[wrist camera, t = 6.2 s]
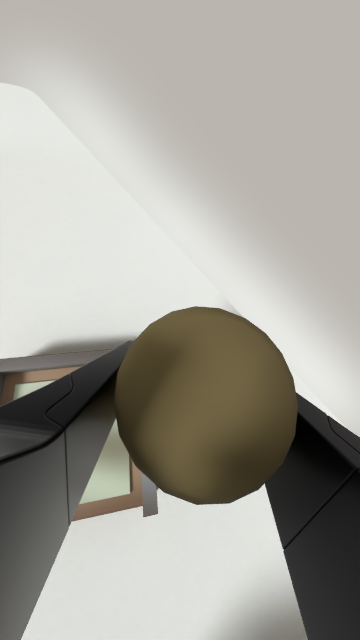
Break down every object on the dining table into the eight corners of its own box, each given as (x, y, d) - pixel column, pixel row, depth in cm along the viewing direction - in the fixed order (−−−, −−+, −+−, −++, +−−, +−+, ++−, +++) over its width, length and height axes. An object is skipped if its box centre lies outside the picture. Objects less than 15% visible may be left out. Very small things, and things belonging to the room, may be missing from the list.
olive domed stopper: (113, 391, 14) (15, 381, 4) (174, 337, 16) (214, 239, 6) (170, 461, 13) (235, 692, 3) (228, 394, 15) (386, 394, 5)
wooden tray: (156, 490, 17) (157, 513, 14) (-16, 526, 15) (-63, 564, 12) (147, 353, 21) (146, 346, 18) (10, 366, 19) (-20, 360, 16)
